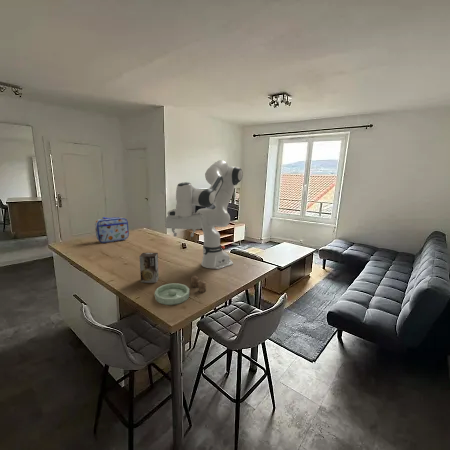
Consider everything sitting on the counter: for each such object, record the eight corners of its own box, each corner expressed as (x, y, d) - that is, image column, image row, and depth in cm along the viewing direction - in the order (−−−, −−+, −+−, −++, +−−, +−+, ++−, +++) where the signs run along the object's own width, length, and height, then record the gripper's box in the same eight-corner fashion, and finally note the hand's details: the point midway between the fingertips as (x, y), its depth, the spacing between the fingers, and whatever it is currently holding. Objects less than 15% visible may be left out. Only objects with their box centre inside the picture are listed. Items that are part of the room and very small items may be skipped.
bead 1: (196, 283, 139) (196, 275, 138) (199, 286, 136) (199, 278, 135) (190, 285, 137) (190, 277, 136) (193, 288, 134) (193, 279, 133)
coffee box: (159, 278, 145) (158, 252, 142) (156, 282, 139) (155, 256, 135) (143, 277, 145) (142, 252, 141) (140, 282, 138) (139, 255, 135)
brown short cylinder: (203, 288, 134) (203, 280, 133) (207, 291, 131) (207, 282, 130) (197, 290, 132) (197, 281, 131) (200, 293, 129) (200, 284, 128)
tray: (181, 285, 136) (181, 280, 135) (194, 299, 122) (194, 293, 121) (151, 292, 127) (151, 287, 126) (161, 308, 113) (161, 302, 112)
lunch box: (97, 244, 206) (95, 219, 201) (94, 241, 213) (92, 217, 209) (130, 239, 223) (128, 216, 218) (126, 237, 231) (125, 214, 226)
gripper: (202, 212, 138) (202, 235, 140) (166, 210, 136) (166, 234, 139) (202, 213, 132) (201, 238, 134) (164, 212, 130) (164, 237, 133)
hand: (183, 236), depth 137 cm, fingers open, 8 cm apart
